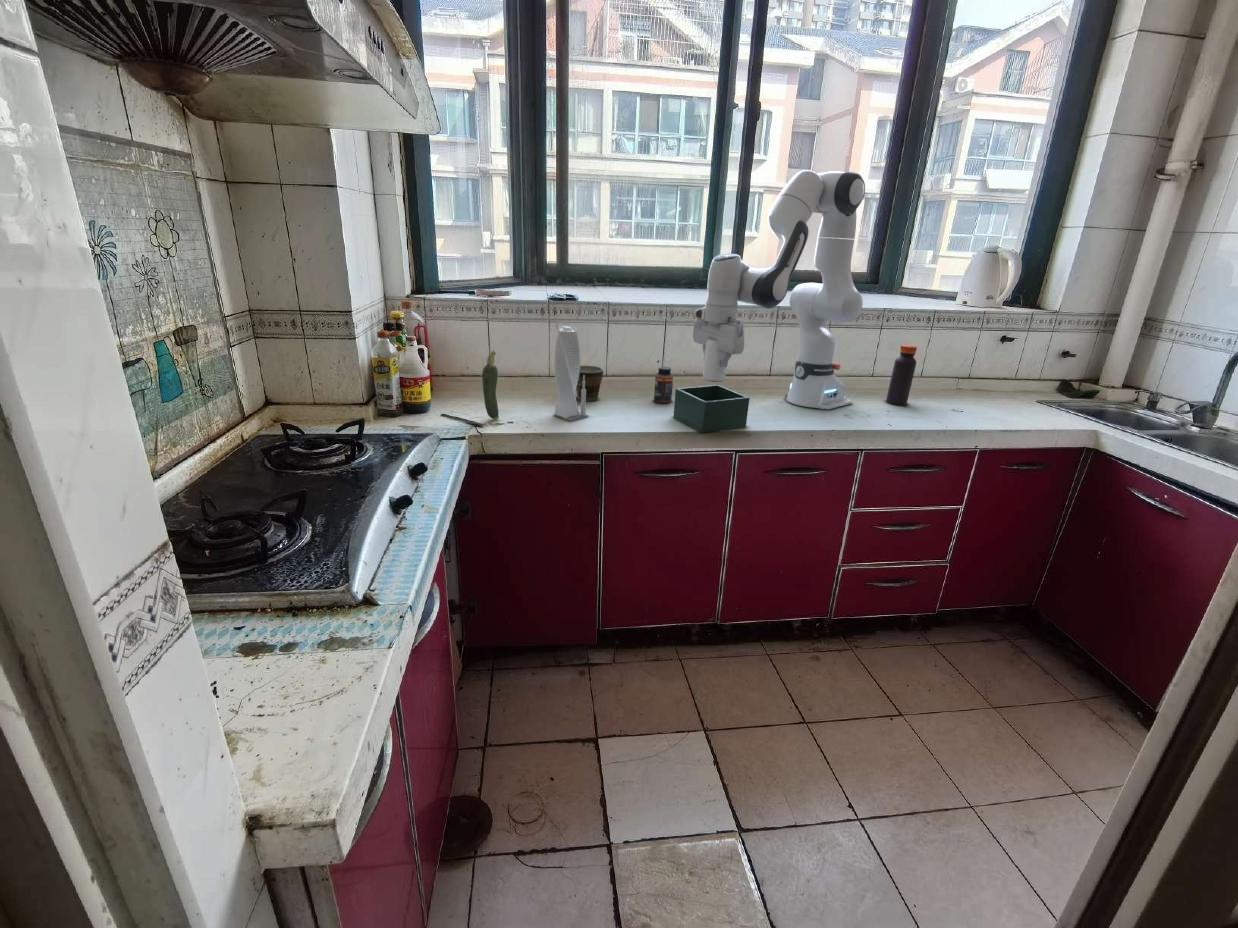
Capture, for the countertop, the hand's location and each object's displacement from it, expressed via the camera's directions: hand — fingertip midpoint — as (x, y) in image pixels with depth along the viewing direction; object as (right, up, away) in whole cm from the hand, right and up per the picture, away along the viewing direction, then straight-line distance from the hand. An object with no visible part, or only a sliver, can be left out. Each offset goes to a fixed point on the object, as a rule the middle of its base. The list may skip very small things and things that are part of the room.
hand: (715, 363), depth 171 cm
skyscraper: (-43, -15, +6) cm, 46 cm away
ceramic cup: (-39, -8, +23) cm, 46 cm away
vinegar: (+70, -8, +37) cm, 79 cm away
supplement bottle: (-13, -8, +26) cm, 30 cm away
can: (0, -5, +2) cm, 5 cm away
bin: (-1, -16, +7) cm, 18 cm away
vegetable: (-65, -16, 0) cm, 67 cm away
